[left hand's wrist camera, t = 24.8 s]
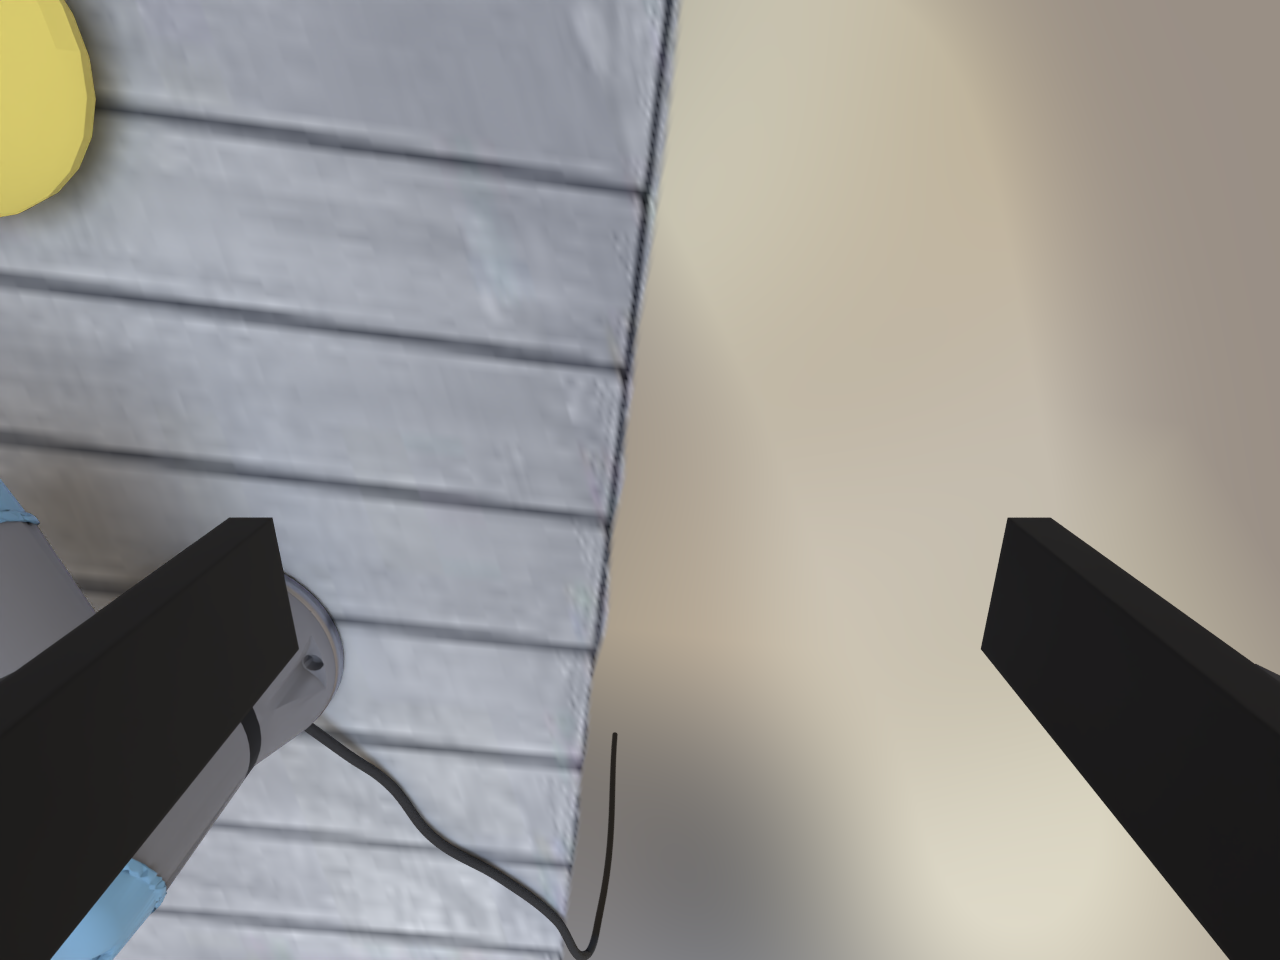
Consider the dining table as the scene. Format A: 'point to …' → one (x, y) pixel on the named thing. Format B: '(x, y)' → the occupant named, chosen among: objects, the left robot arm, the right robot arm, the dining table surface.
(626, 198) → the dining table surface
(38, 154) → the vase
